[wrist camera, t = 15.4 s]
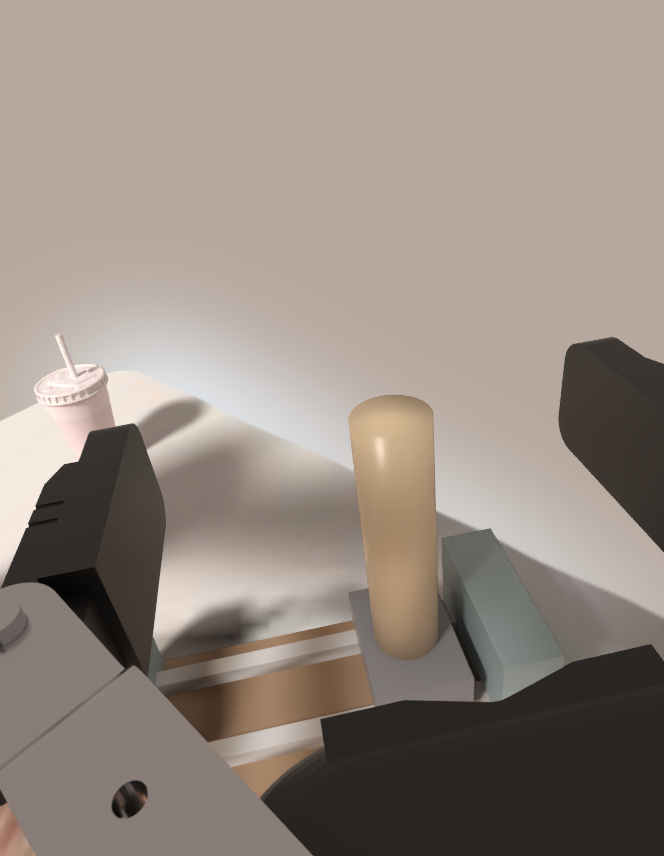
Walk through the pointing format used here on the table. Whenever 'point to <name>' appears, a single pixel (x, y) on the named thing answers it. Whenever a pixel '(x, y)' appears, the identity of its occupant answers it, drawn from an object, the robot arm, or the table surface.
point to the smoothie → (76, 399)
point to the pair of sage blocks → (485, 617)
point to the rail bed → (273, 696)
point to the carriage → (402, 558)
